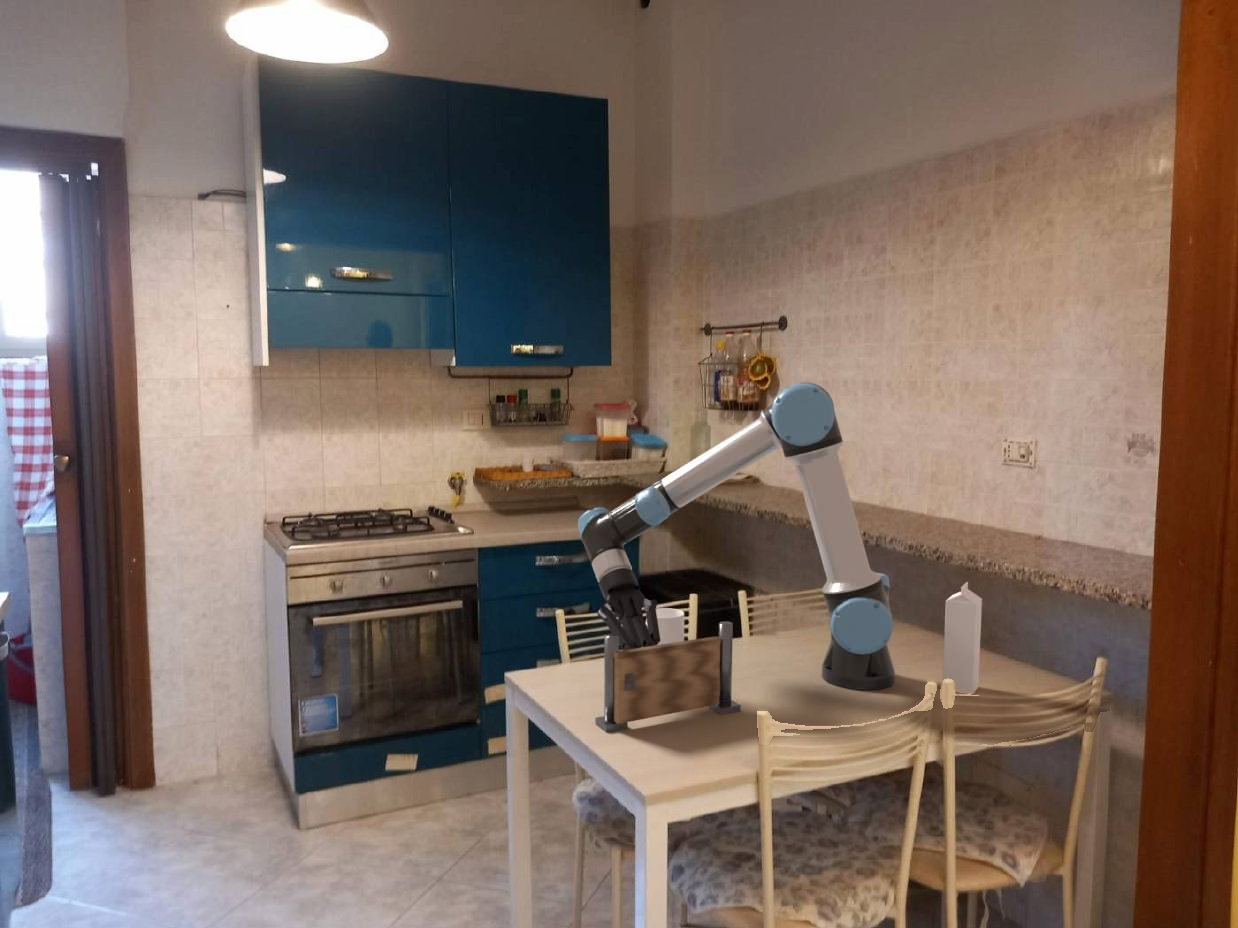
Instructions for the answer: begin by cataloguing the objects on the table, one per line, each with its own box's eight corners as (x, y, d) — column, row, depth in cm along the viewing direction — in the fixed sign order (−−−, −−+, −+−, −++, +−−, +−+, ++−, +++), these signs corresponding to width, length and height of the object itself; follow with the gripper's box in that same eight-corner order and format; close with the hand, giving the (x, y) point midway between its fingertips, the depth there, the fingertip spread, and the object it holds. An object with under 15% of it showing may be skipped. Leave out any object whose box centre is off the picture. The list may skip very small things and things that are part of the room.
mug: (626, 660, 212) (626, 613, 211) (667, 650, 219) (667, 606, 218) (650, 669, 205) (650, 622, 204) (691, 659, 212) (692, 613, 211)
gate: (715, 701, 181) (716, 636, 180) (720, 704, 179) (721, 638, 178) (612, 721, 171) (613, 651, 169) (617, 724, 169) (617, 654, 168)
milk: (978, 687, 194) (983, 583, 192) (972, 696, 189) (977, 589, 187) (948, 682, 198) (953, 579, 195) (941, 690, 192) (946, 585, 190)
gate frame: (720, 699, 186) (722, 616, 185) (740, 710, 180) (741, 624, 179) (595, 723, 173) (595, 634, 172) (612, 736, 167) (612, 643, 166)
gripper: (637, 583, 196) (677, 684, 183) (581, 590, 190) (618, 694, 177) (649, 563, 191) (692, 665, 178) (592, 569, 185) (632, 675, 172)
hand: (655, 680), depth 178 cm, fingers closed
